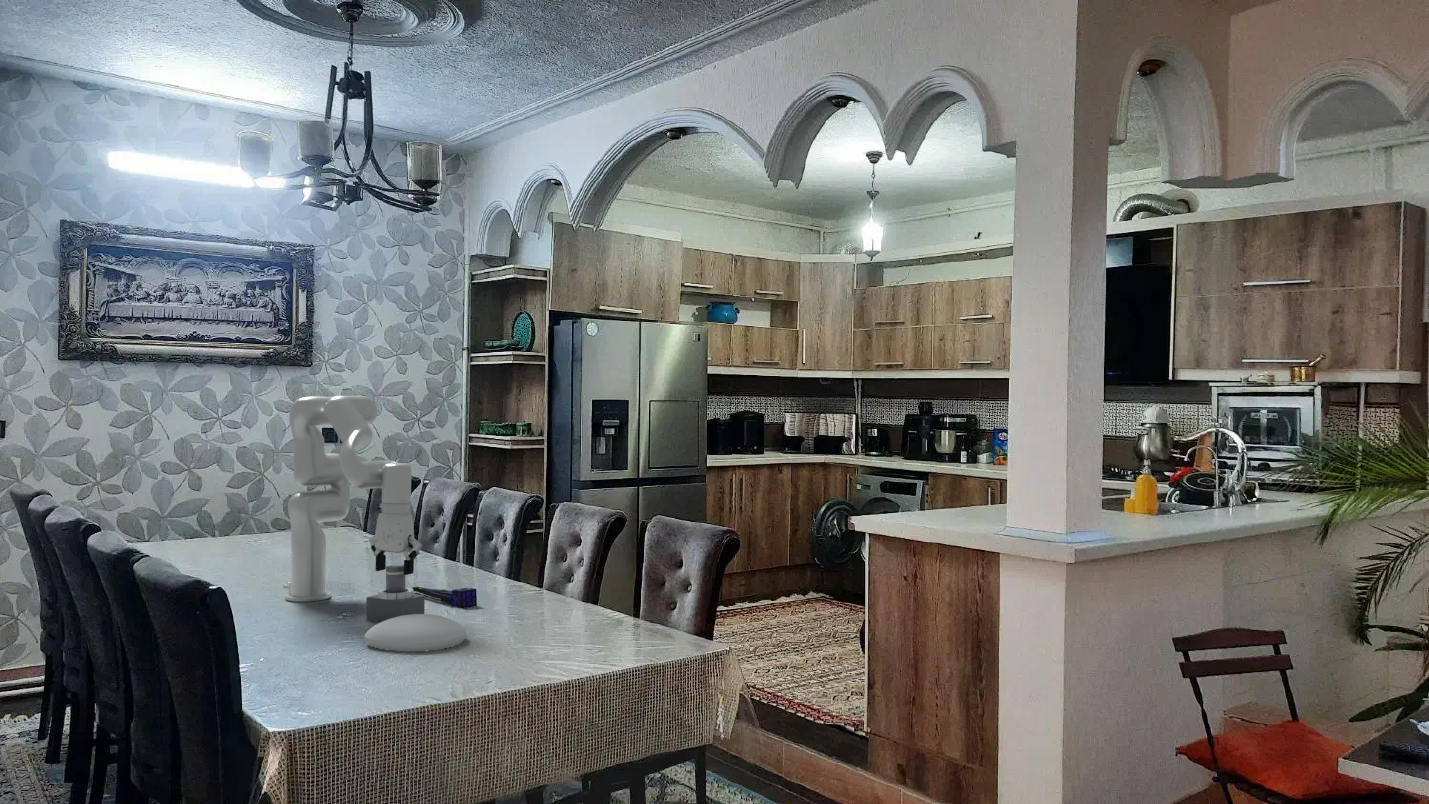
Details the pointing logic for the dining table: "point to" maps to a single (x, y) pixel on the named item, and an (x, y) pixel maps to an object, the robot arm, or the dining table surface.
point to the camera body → (394, 605)
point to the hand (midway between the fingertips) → (394, 572)
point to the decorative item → (416, 633)
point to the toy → (452, 596)
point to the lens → (395, 579)
